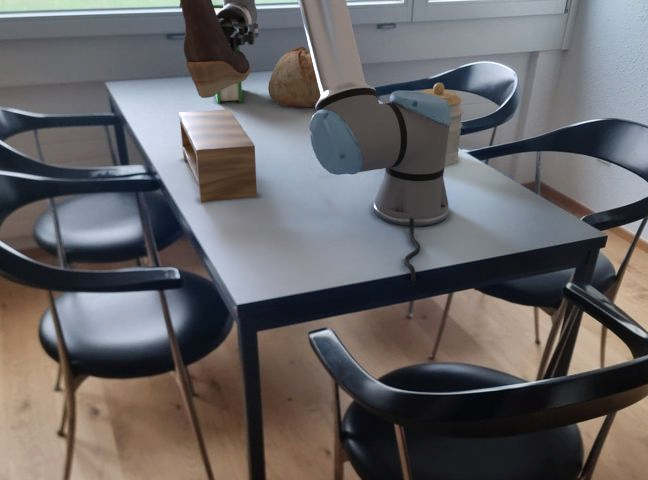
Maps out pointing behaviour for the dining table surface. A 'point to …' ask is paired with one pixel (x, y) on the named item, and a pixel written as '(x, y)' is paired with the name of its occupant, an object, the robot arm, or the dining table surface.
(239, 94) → the hardback book
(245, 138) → the shoe rack
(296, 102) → the bread
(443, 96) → the jar
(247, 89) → the dining table surface
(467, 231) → the dining table surface
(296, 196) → the dining table surface
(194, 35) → the boot
